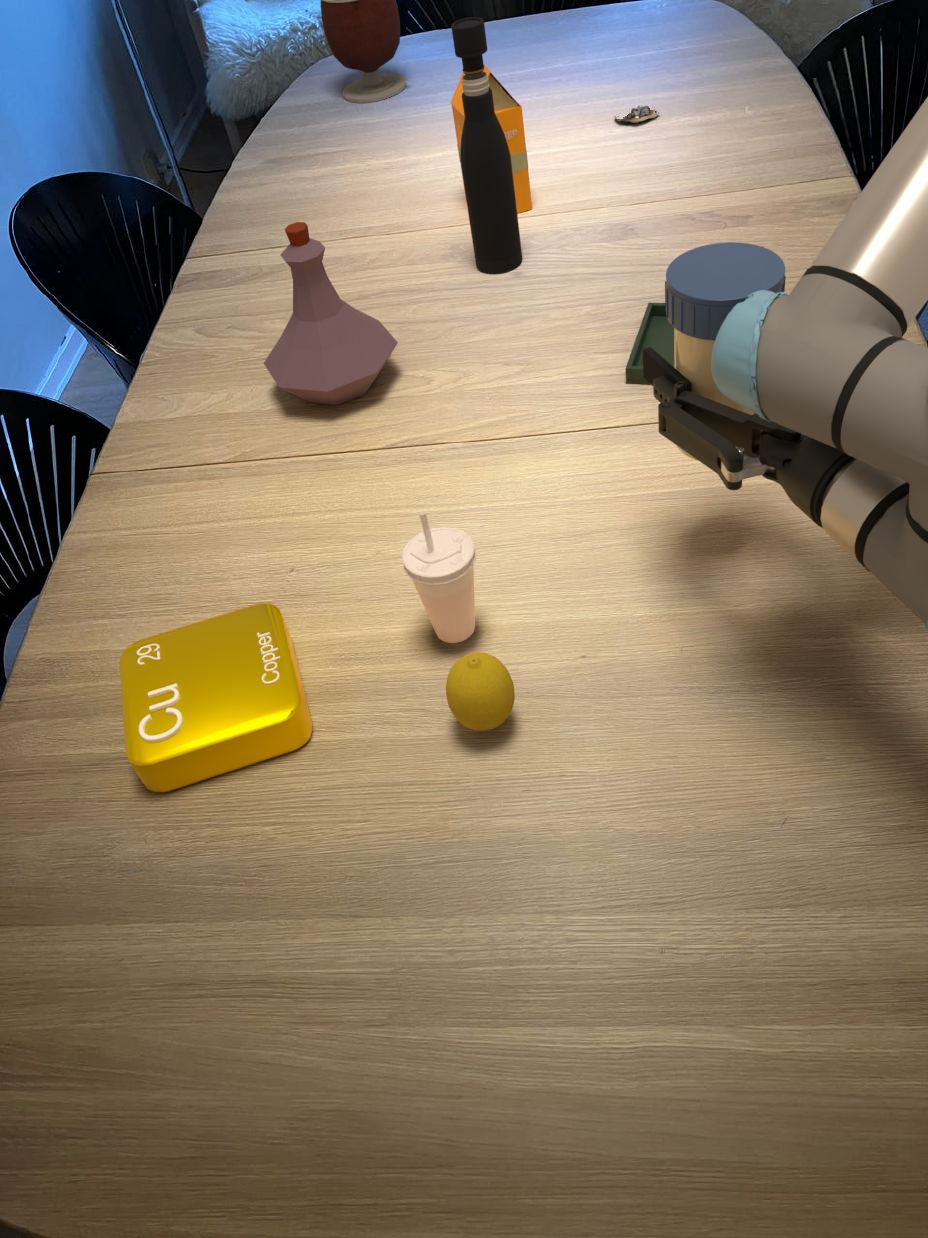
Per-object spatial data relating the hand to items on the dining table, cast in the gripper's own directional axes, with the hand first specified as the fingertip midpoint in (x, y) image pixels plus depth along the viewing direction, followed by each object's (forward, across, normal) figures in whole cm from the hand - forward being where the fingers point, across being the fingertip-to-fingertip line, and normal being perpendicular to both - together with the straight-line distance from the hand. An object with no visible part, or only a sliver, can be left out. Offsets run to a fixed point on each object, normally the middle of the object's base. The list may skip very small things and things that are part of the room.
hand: (690, 346), depth 88 cm
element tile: (-2, -48, -18) cm, 52 cm away
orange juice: (+74, +12, -18) cm, 77 cm away
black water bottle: (+58, +5, -18) cm, 61 cm away
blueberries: (+88, +44, -18) cm, 100 cm away
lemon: (-15, -28, -18) cm, 37 cm away
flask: (+43, -23, -18) cm, 52 cm away
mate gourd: (+134, +13, -18) cm, 136 cm away
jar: (-5, 0, -6) cm, 8 cm away
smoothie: (-3, -26, -18) cm, 32 cm away
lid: (-5, 0, +6) cm, 7 cm away
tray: (+23, +16, -18) cm, 33 cm away
